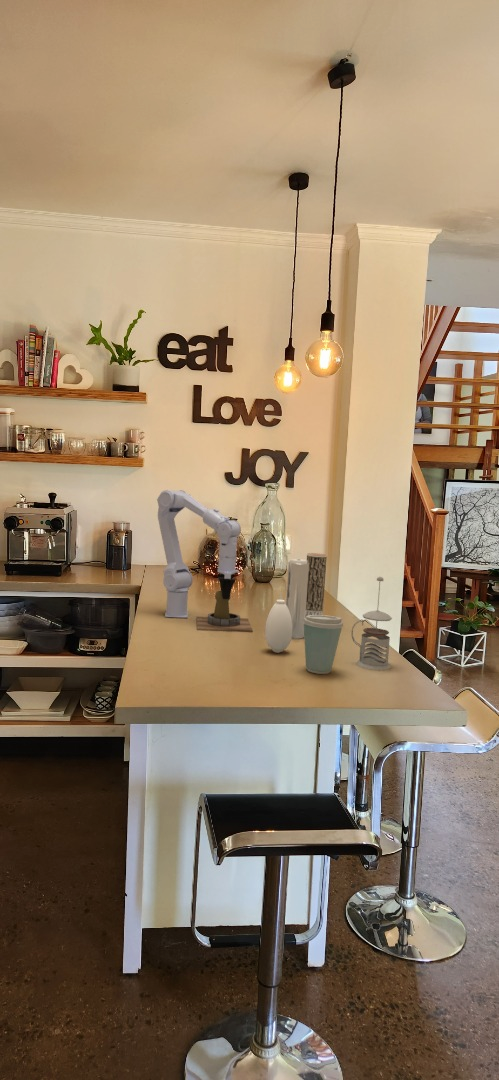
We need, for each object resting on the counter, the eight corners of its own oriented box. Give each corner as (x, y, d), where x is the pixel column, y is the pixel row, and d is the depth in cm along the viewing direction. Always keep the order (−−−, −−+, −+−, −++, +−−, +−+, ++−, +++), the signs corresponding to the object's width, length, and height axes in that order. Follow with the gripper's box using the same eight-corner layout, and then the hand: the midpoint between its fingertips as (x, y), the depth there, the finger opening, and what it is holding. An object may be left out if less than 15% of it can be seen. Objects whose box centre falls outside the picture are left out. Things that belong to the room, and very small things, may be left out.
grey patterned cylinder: (299, 623, 240) (304, 552, 238) (317, 623, 242) (322, 553, 240) (306, 628, 234) (311, 555, 231) (324, 627, 236) (330, 555, 233)
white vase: (295, 654, 198) (299, 593, 196) (270, 656, 195) (274, 593, 193) (284, 648, 205) (287, 588, 203) (259, 649, 202) (263, 588, 200)
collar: (207, 619, 236) (207, 611, 236) (238, 620, 237) (238, 613, 237) (208, 626, 225) (208, 618, 225) (240, 627, 226) (241, 619, 226)
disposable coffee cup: (293, 666, 186) (296, 611, 184) (328, 664, 190) (332, 611, 188) (310, 677, 176) (314, 620, 174) (347, 675, 180) (351, 619, 178)
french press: (391, 671, 186) (398, 580, 184) (348, 666, 188) (355, 576, 186) (391, 662, 196) (398, 575, 193) (350, 657, 198) (356, 572, 196)
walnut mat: (196, 618, 239) (196, 616, 239) (247, 620, 241) (247, 618, 241) (197, 630, 221) (197, 628, 221) (252, 632, 223) (252, 630, 223)
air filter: (304, 639, 217) (309, 561, 215) (284, 638, 217) (289, 560, 215) (303, 634, 223) (308, 558, 221) (283, 633, 224) (288, 557, 221)
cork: (209, 621, 231) (210, 589, 230) (224, 620, 235) (226, 589, 234) (217, 625, 226) (219, 592, 225) (233, 624, 230) (235, 592, 229)
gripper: (241, 560, 222) (238, 601, 223) (237, 554, 236) (235, 593, 238) (219, 559, 221) (216, 600, 223) (217, 553, 236) (215, 592, 237)
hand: (225, 596), depth 230 cm, fingers open, 7 cm apart
